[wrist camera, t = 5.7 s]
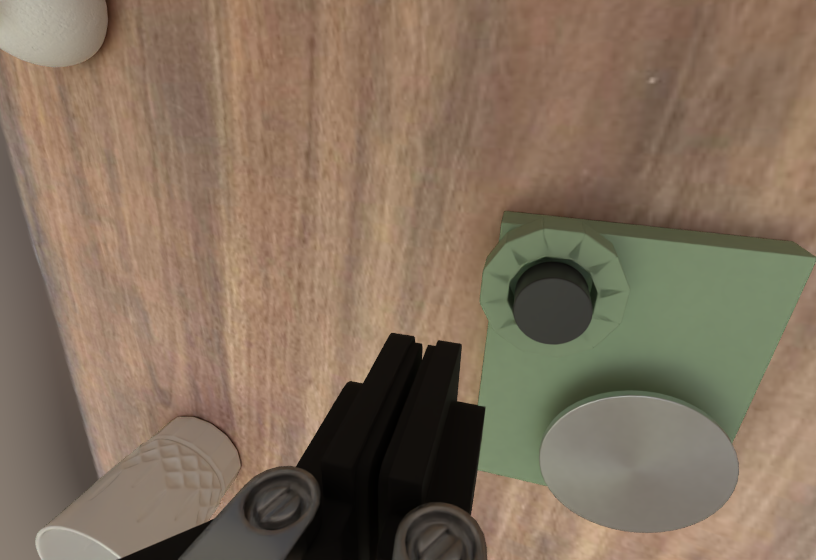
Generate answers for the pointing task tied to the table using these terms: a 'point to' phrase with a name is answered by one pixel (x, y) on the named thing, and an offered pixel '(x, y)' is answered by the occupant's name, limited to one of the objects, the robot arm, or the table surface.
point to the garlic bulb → (52, 30)
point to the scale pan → (638, 461)
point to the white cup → (146, 495)
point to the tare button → (552, 303)
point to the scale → (631, 325)
